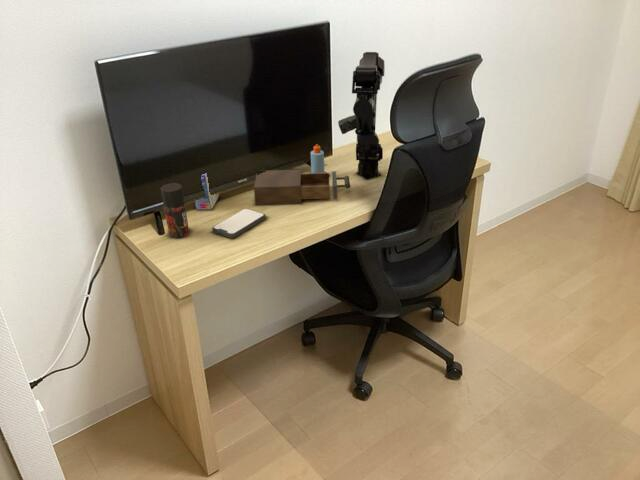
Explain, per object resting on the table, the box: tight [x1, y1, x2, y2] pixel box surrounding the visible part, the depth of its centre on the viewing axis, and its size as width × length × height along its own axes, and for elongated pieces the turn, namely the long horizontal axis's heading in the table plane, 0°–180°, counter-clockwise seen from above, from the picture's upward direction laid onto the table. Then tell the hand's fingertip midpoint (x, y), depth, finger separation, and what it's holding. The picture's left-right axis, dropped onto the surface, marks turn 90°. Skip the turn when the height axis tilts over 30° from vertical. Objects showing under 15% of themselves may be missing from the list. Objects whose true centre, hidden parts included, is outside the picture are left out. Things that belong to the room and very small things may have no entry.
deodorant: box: [160, 182, 190, 239], centre depth 168 cm, size 6×6×15 cm
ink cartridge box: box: [194, 173, 220, 211], centre depth 185 cm, size 10×6×14 cm, turn 174°
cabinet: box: [253, 169, 302, 206], centre depth 191 cm, size 15×13×6 cm
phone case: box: [211, 208, 266, 239], centre depth 175 cm, size 9×2×16 cm
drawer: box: [301, 170, 351, 200], centre depth 191 cm, size 18×12×5 cm
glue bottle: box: [310, 143, 325, 173], centre depth 202 cm, size 5×5×12 cm
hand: (365, 156), depth 186 cm, fingers open, 4 cm apart
